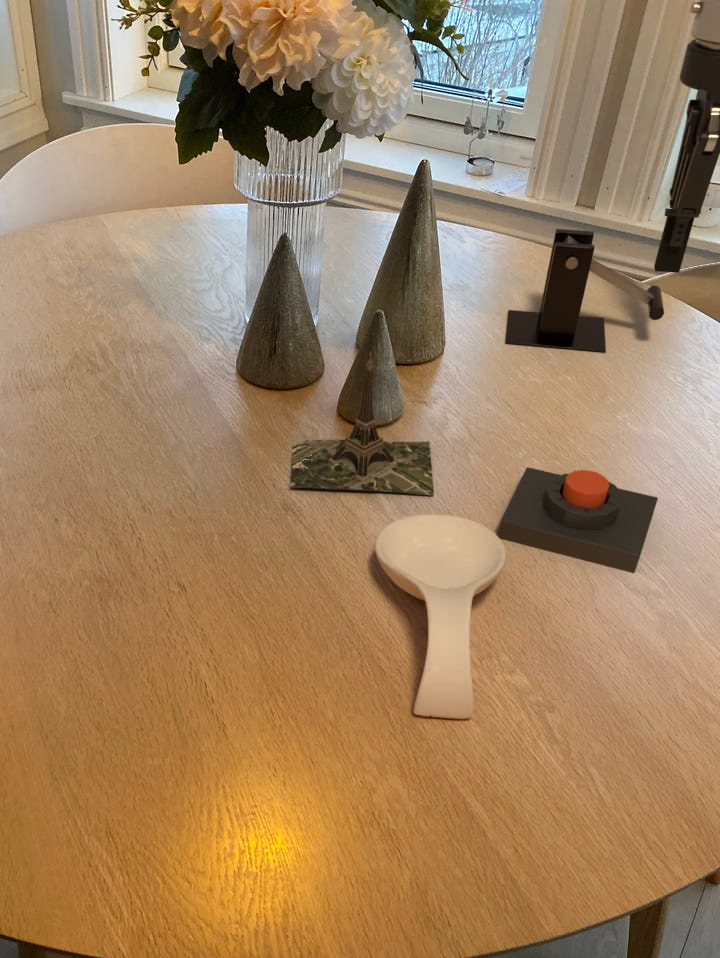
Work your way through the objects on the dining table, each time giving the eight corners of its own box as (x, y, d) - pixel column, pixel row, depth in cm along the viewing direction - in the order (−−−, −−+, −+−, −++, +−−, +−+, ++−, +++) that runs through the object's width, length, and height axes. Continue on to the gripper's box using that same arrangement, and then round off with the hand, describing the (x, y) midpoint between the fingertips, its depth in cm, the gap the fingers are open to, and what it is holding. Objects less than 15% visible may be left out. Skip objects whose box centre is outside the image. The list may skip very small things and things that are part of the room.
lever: (652, 303, 123) (666, 287, 121) (655, 325, 119) (669, 308, 117) (555, 246, 121) (568, 228, 119) (555, 266, 117) (568, 248, 115)
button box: (652, 515, 99) (663, 481, 96) (634, 574, 92) (645, 540, 90) (523, 484, 103) (529, 451, 100) (497, 538, 97) (503, 505, 94)
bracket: (601, 327, 128) (626, 227, 119) (603, 360, 122) (629, 257, 113) (506, 319, 130) (524, 220, 121) (503, 351, 124) (521, 249, 115)
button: (608, 490, 96) (613, 475, 95) (600, 513, 93) (604, 497, 92) (567, 480, 97) (571, 465, 96) (557, 502, 95) (561, 487, 93)
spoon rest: (371, 538, 97) (377, 476, 92) (493, 543, 96) (505, 481, 91) (372, 718, 80) (379, 655, 75) (520, 726, 79) (537, 663, 74)
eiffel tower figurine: (287, 493, 103) (289, 376, 94) (292, 440, 110) (294, 327, 101) (433, 498, 102) (449, 381, 92) (429, 444, 109) (443, 330, 100)
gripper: (683, 25, 106) (630, 245, 122) (694, 56, 97) (635, 290, 113) (758, 26, 105) (695, 249, 121) (777, 58, 95) (705, 295, 112)
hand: (666, 269), depth 117 cm, fingers closed
